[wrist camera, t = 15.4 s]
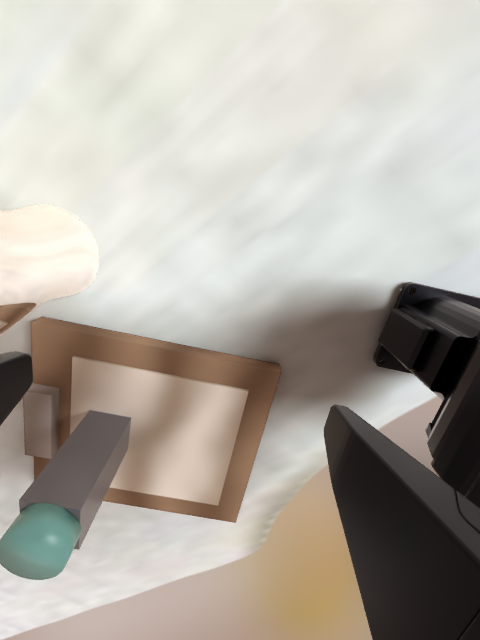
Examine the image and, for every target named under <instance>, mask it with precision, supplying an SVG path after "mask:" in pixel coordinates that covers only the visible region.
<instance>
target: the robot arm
mask: <svg viewBox="0 0 480 640" xmlns="http://www.w3.org/2000/svg"><path fill="white" fill-rule="evenodd" d="M411 287H413V290H412V292H410V293H409V292H408V291H409V289H410V288H411ZM379 342H380V343H379V345H378V348H377V350H376V353H375V355H374V358H373V361H374V363H375V364H376V365H377V366H379V367H383V368H388V369H393V370H398V371H402V372H407V373H412V374H414V375H415V376H416V377H417V378H418V379H419V380H420V381H421V382H423V383H424V384H425V385H426V386H427V387H428V388H429V389H430V390H431V391H433V392H434V393H435V394H436V395H437V396H438V397H440V398H441V399H442V400H443V402H442V404H441V406H440V408H439V410H438V412H437V414H436V416H435V418H434V420H433V421H432V423H429V425H428V427H427V429H426V433H427V436H428V442H427V443H428V447H429V449H430V452H431V455H432V457H433V461H432V463H431V465H432V467H433V469H434V470H435V472H436V473H437V474H438V476H439V477H440V478H439V477H438V476H437V475H436V474H434V473H433V472H432V471H430V470H429V469H428V468H426V467H425V466H424V465H422V464H421V463H420V462H418V461H417V460H416V459H415V458H413V457H412V456H410V455H409V454H408V453H407V452H405V451H404V450H403V449H401V448H400V447H399V446H397V445H396V444H395V443H393V442H392V441H391V440H390V439H388V438H387V437H386V436H384V435H383V434H382V433H380V432H379V431H378V430H377V429H375V428H374V427H373V426H371V425H370V424H369V423H367V422H366V421H365V420H363V419H362V418H361V417H359V416H358V415H357V414H356V413H354V412H353V411H352V410H350V409H349V408H348V407H345V406H340V405H333V406H332V407H331V409H330V412H329V415H328V418H327V421H326V424H325V427H324V438H325V445H326V452H327V458H328V465H329V471H330V477H331V483H332V487H333V491H334V495H335V499H336V503H337V506H338V510H339V514H340V518H341V522H342V525H343V529H344V533H345V536H346V541H347V544H348V548H349V552H350V556H351V559H352V563H353V567H354V571H355V574H356V578H357V582H358V586H359V589H360V593H361V597H362V600H363V604H364V609H365V612H366V616H367V620H368V623H369V627H370V631H371V635H372V638H373V640H480V298H478V297H474V296H470V295H465V294H461V293H456V292H452V291H448V290H443V289H439V288H434V287H430V286H426V285H421V284H417V283H412V282H409V283H406V284H405V285H404V286H403V288H402V290H401V292H400V295H399V297H398V300H397V302H396V304H395V307H394V309H393V310H391V312H390V315H389V317H388V320H387V322H386V324H385V327H384V329H383V332H382V334H381V337H380V339H379ZM381 358H383V360H382V361H379V359H381ZM32 382H33V367H32V357H31V356H30V355H29V354H27V353H22V352H9V353H4V354H0V425H1V424H2V423H3V421H4V420H5V419H6V418H7V416H8V415H9V414H10V413H11V411H12V410H13V409H14V407H15V406H16V405H17V404H18V402H19V401H20V400H21V398H22V397H23V396H24V395H25V393H26V392H27V391H28V389H29V388H30V387H31V385H32Z"/></svg>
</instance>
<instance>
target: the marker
mask: <svg viewBox="0 0 480 640" xmlns="http://www.w3.org/2000/svg"><path fill="white" fill-rule="evenodd" d="M130 425H131V417H125V416H120V415H114V414H109V413H103V412H98V411H92V410H89V412H88V413H87V414H86V416H85V417H84V418H83V419H82V421H81V422H80V423H79V424H78V426H77V427H76V428H75V430H74V431H73V432H72V433H71V435H70V436H69V437H68V438H67V440H66V441H65V442H64V444H63V445H62V446H61V447H60V449H59V450H58V451H57V453H56V454H55V455H54V456H53V458H52V459H51V460H50V461H49V463H48V464H47V465H46V467H45V468H44V469H43V470H42V472H41V473H40V474H39V475H38V477H37V478H36V479H35V481H34V482H33V483H32V484H31V486H30V487H29V488H28V490H27V491H26V492H25V493H24V495H23V496H22V497H21V498H20V500H19V505H20V514H19V515H18V517H17V518H16V519H15V521H14V522H13V523H12V525H11V526H10V527H9V529H8V530H7V531H6V533H5V534H4V535H3V537H2V538H1V540H0V564H1V565H2V566H3V567H4V568H5V569H7V570H8V571H10V572H11V573H13V574H15V575H17V576H20V577H23V578H27V579H34V580H44V579H49V578H52V577H55V576H57V575H58V574H60V573H61V572H62V570H63V569H64V567H65V565H66V563H67V561H68V559H69V557H70V555H71V553H72V551H73V549H79V548H80V546H81V544H82V542H83V540H84V538H85V536H86V534H87V532H88V530H89V528H90V526H91V524H92V521H93V519H94V517H95V515H96V513H97V511H98V509H99V507H100V505H101V503H102V501H103V499H104V497H105V495H106V493H107V491H108V489H109V487H110V485H111V483H112V481H113V479H114V477H115V475H116V473H117V470H118V468H119V466H120V464H121V462H122V460H123V458H124V456H125V454H126V452H127V450H128V443H129V434H130Z"/></svg>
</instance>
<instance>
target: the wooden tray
mask: <svg viewBox="0 0 480 640" xmlns="http://www.w3.org/2000/svg"><path fill="white" fill-rule="evenodd" d="M31 346H32V367H33V382H32V385H31V387H30V388H29V389H28V391H27V392H26V393H25V395H24V396H23V406H24V434H25V455H31V456H34V481H35V479H36V478H37V477H38V475H39V474H40V473H41V472H42V470H43V469H44V468H45V467H46V465H47V464H48V463H49V461H50V460H51V459H52V458H53V456H54V455H55V454H56V453H57V451H58V450H59V449H60V447H61V446H62V445H63V444H64V442H65V441H66V440H67V438H68V437H69V436H70V435H71V433H72V432H73V431H74V430H75V428H76V427H77V426H78V424H79V423H80V422H81V421H82V419H83V418H84V417H85V416H86V414H87V413H88V412H89V410H92V411H98V412H103V413H109V414H114V415H120V416H125V417H131V425H130V434H129V443H128V450H127V452H126V454H125V456H124V458H123V460H122V462H121V464H120V466H119V468H118V470H117V473H116V475H115V477H114V479H113V481H112V483H111V485H110V487H109V489H108V491H107V493H106V495H105V497H104V499H103V501H107V502H113V503H119V504H125V505H131V506H137V507H143V508H149V509H155V510H162V511H168V512H174V513H180V514H186V515H192V516H198V517H204V518H210V519H216V520H222V521H228V522H235V523H236V520H237V516H238V513H239V510H240V506H241V503H242V500H243V497H244V493H245V490H246V487H247V483H248V480H249V477H250V473H251V470H252V467H253V464H254V460H255V457H256V454H257V450H258V447H259V444H260V440H261V437H262V434H263V431H264V427H265V424H266V421H267V417H268V414H269V411H270V407H271V404H272V401H273V397H274V394H275V391H276V388H277V384H278V381H279V378H280V374H281V370H280V365H279V364H275V363H270V362H265V361H260V360H255V359H250V358H245V357H240V356H235V355H230V354H225V353H220V352H215V351H210V350H205V349H200V348H195V347H190V346H185V345H180V344H176V343H171V342H166V341H161V340H156V339H151V338H146V337H141V336H136V335H131V334H126V333H121V332H116V331H111V330H106V329H101V328H96V327H91V326H86V325H81V324H76V323H71V322H66V321H61V320H56V319H51V318H47V317H40V318H38V319H36V320H34V321H32V322H31Z"/></svg>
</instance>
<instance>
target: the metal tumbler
mask: <svg viewBox="0 0 480 640" xmlns="http://www.w3.org/2000/svg"><path fill="white" fill-rule="evenodd" d="M99 262H100V257H99V250H98V246H97V243H96V240H95V238H94V236H93V234H92V233H91V231H90V230H89V228H88V227H87V226H86V225H85V224H84V222H83V221H81V220H80V219H79V218H78V217H77V216H75V215H74V214H72V213H71V212H69V211H67V210H65V209H63V208H60V207H57V206H54V205H47V204H39V205H32V206H27V207H23V208H20V209H16V210H0V335H2V334H3V333H4V332H5V331H7V330H8V329H9V328H10V327H12V326H13V325H14V324H16V323H17V322H18V321H19V320H21V319H22V318H23V317H24V316H25V315H27V314H28V313H29V312H30V311H31V310H33V309H34V308H35V307H37V306H38V305H40V304H41V303H43V302H45V301H47V300H50V299H56V298H63V297H68V296H72V295H75V294H78V293H80V292H82V291H84V290H85V289H86V288H88V287H89V286H90V284H91V283H92V282H93V281H94V279H95V277H96V275H97V273H98V269H99Z"/></svg>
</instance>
